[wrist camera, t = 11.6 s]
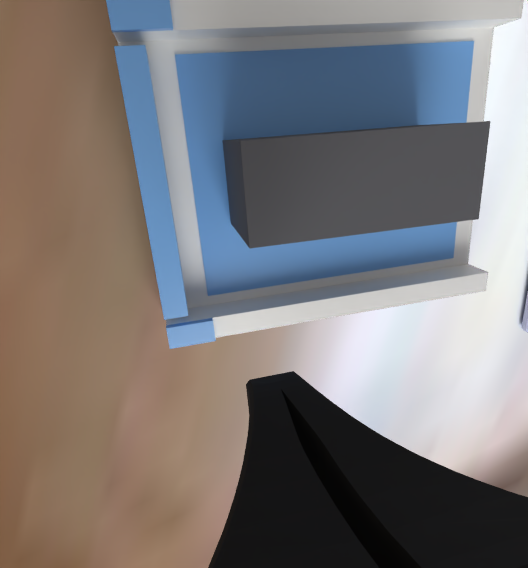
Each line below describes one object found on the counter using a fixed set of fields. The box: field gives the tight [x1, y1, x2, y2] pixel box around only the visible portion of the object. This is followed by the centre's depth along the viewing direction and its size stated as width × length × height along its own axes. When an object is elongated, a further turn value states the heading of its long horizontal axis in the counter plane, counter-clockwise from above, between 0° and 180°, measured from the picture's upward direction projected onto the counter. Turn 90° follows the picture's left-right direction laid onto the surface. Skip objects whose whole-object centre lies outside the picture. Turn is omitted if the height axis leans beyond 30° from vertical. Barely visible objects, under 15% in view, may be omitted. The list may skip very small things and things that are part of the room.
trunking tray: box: [106, 0, 524, 349], centre depth 16 cm, size 16×25×3 cm, turn 4°
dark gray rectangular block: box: [222, 121, 490, 248], centre depth 16 cm, size 9×4×4 cm, turn 94°
